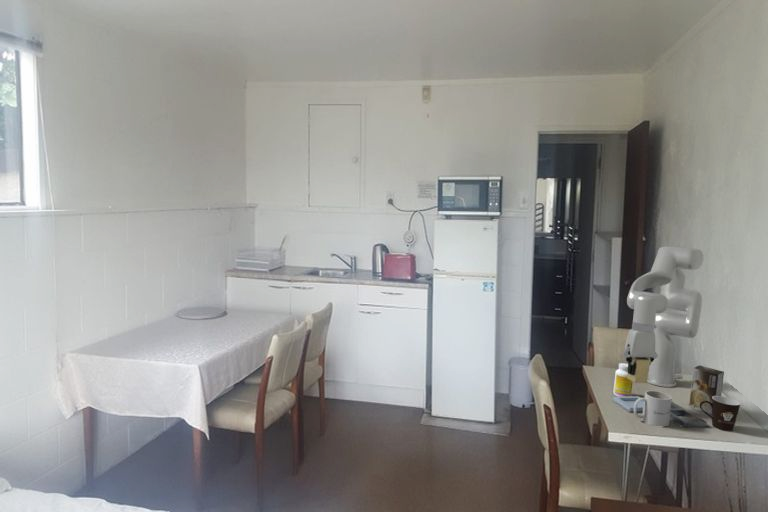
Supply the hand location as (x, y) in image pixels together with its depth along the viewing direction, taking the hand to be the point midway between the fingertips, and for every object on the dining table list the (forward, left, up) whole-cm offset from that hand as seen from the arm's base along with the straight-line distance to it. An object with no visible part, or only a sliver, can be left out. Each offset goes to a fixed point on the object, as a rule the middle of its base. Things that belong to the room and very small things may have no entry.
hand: (637, 373), depth 208 cm
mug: (+2, +13, -13) cm, 19 cm away
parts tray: (0, 0, -13) cm, 13 cm away
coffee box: (-27, +4, -13) cm, 31 cm away
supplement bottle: (-2, -11, -13) cm, 18 cm away
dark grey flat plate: (-11, +8, -13) cm, 19 cm away
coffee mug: (-21, +18, -13) cm, 31 cm away
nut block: (0, 0, -3) cm, 3 cm away
